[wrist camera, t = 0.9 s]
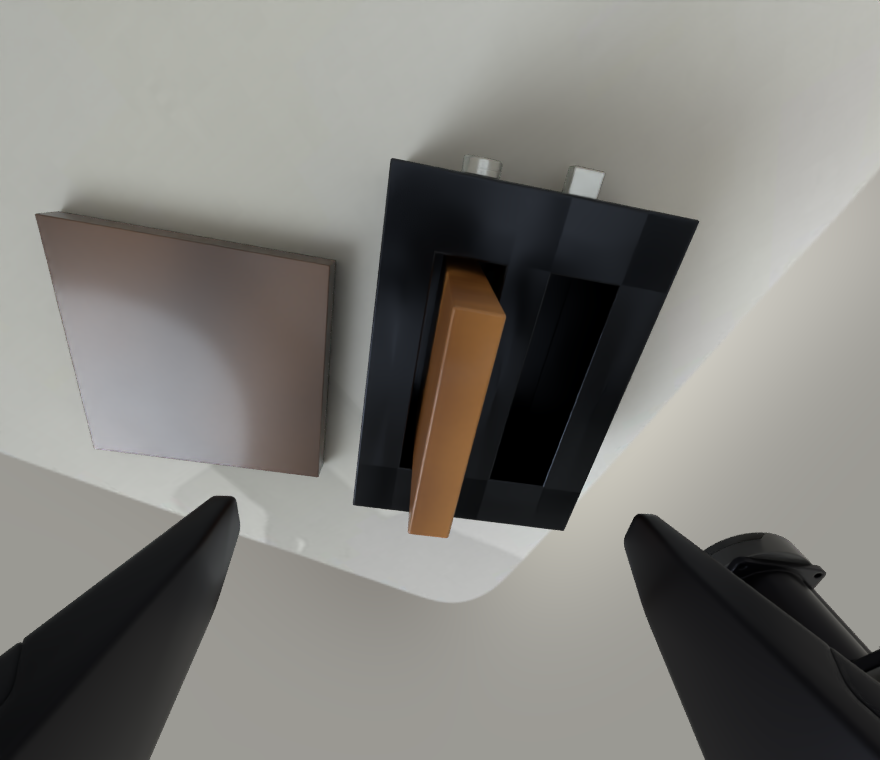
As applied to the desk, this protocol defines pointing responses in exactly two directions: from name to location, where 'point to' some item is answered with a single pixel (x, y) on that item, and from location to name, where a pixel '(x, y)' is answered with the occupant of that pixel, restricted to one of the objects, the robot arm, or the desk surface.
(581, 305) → the toaster
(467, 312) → the toast
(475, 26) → the desk surface
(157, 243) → the board
